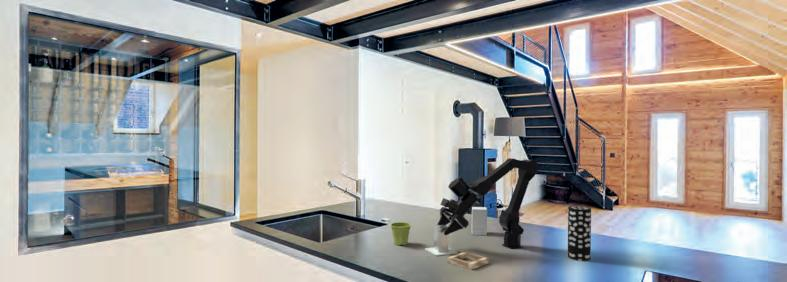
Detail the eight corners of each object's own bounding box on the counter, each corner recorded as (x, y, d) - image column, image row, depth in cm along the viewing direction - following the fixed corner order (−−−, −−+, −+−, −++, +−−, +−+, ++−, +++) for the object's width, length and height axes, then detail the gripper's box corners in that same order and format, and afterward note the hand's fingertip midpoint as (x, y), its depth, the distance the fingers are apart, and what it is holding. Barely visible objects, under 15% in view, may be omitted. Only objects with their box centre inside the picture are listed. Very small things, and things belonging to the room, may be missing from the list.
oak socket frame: (464, 256, 159) (464, 251, 159) (488, 263, 151) (488, 257, 151) (447, 262, 152) (447, 257, 152) (471, 269, 144) (471, 264, 144)
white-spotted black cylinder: (588, 255, 162) (589, 206, 161) (591, 262, 154) (592, 210, 153) (566, 253, 164) (567, 205, 164) (568, 259, 156) (569, 209, 156)
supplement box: (486, 235, 193) (487, 209, 193) (471, 234, 195) (471, 209, 195) (486, 232, 201) (486, 207, 200) (471, 231, 202) (471, 206, 202)
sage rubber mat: (445, 247, 173) (445, 245, 173) (457, 253, 164) (457, 252, 164) (424, 249, 169) (425, 248, 169) (436, 256, 160) (436, 254, 160)
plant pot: (403, 247, 171) (403, 227, 171) (385, 244, 177) (386, 224, 177) (415, 243, 179) (415, 224, 179) (398, 239, 184) (398, 221, 184)
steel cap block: (443, 248, 170) (444, 224, 169) (448, 251, 165) (448, 227, 165) (434, 248, 168) (434, 225, 168) (438, 252, 164) (438, 228, 163)
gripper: (443, 188, 176) (420, 214, 174) (461, 194, 158) (435, 223, 156) (460, 205, 179) (437, 231, 176) (479, 213, 161) (454, 242, 158)
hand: (440, 231), depth 166 cm, fingers open, 9 cm apart
